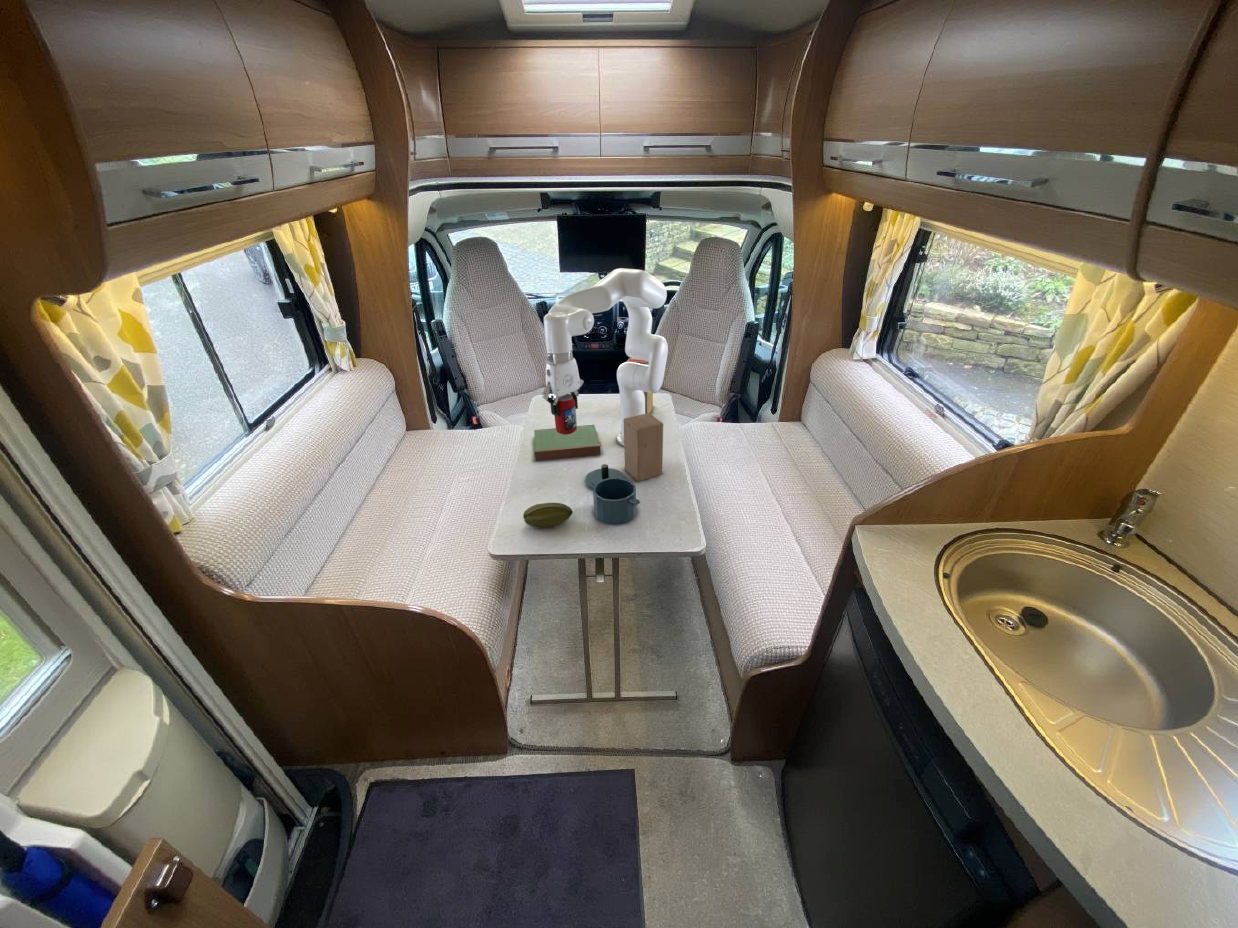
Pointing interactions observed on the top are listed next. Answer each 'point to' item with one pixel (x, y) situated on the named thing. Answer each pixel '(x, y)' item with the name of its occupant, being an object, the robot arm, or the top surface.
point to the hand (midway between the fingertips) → (564, 411)
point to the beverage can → (566, 415)
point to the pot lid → (603, 474)
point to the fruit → (547, 514)
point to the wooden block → (643, 446)
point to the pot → (614, 500)
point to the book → (566, 443)
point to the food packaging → (647, 395)
